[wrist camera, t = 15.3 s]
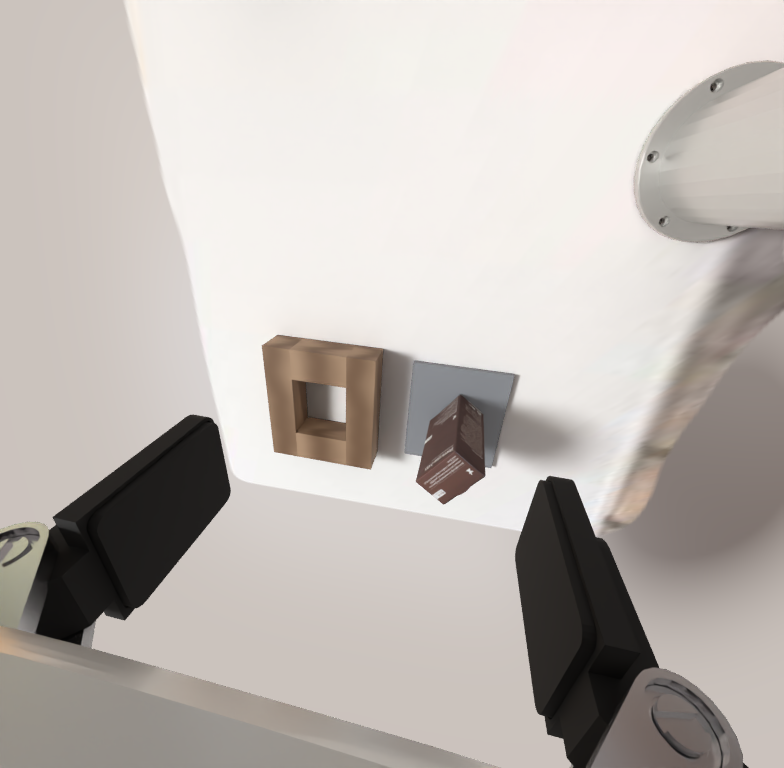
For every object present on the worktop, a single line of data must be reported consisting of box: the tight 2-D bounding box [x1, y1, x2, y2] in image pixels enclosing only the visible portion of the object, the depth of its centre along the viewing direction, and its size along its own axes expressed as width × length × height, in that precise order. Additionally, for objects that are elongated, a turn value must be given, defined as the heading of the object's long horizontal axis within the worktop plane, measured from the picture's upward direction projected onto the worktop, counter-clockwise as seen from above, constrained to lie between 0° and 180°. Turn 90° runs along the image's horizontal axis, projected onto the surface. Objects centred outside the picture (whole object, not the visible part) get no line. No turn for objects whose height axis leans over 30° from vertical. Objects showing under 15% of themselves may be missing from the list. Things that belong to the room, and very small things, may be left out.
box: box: [416, 394, 485, 504], centre depth 40 cm, size 6×4×12 cm
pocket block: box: [262, 335, 383, 469], centre depth 46 cm, size 14×16×4 cm
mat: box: [405, 361, 514, 468], centre depth 45 cm, size 12×14×1 cm
